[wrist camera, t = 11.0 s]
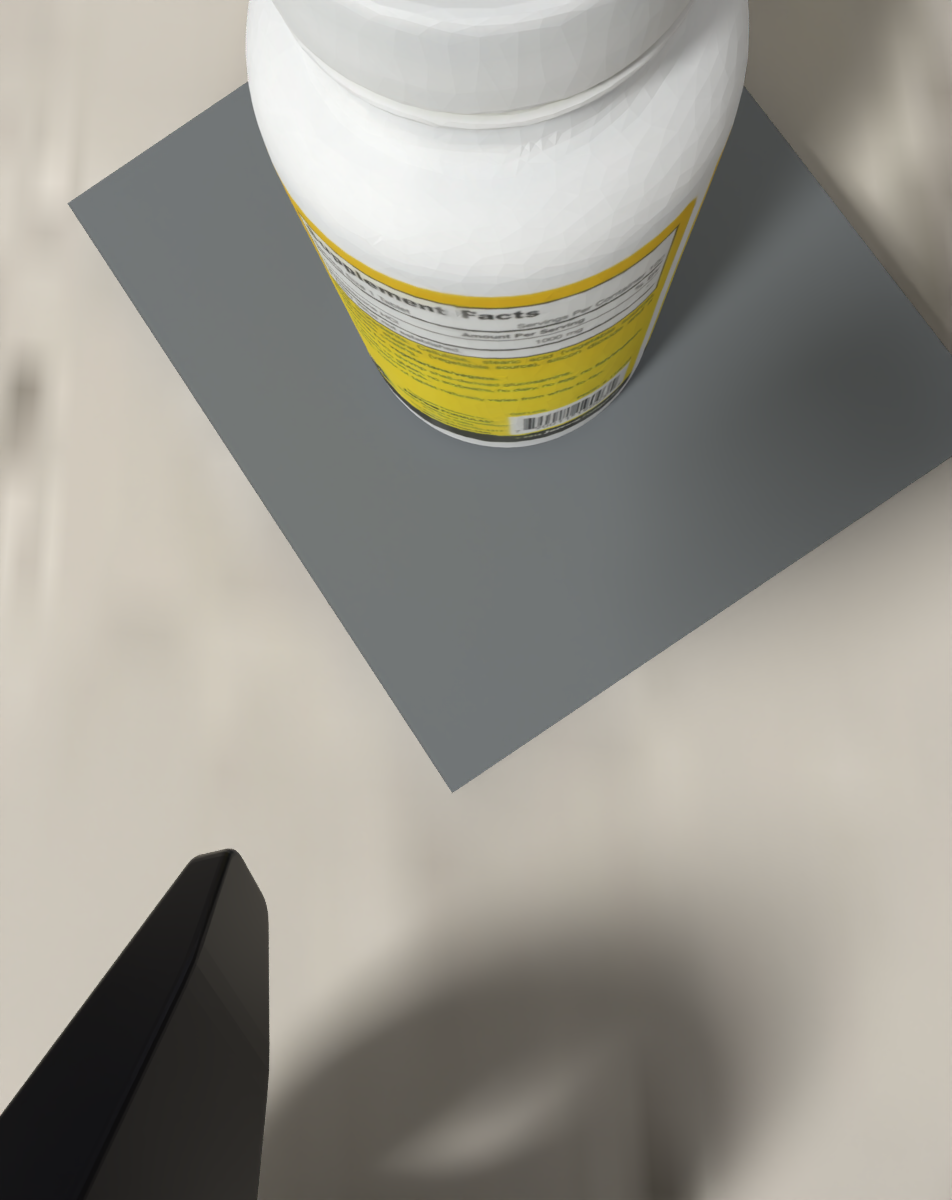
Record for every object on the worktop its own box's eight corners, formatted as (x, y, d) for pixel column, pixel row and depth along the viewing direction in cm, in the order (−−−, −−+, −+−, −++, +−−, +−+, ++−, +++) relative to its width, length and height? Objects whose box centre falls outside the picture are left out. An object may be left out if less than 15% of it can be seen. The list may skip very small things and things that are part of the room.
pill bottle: (458, 136, 18) (360, -683, 7) (700, 265, 18) (1002, -404, 7) (314, 369, 18) (-17, -104, 7) (555, 508, 17) (619, 237, 6)
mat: (975, 435, 18) (1002, 421, 17) (455, 785, 18) (452, 792, 17) (569, -97, 19) (571, -138, 18) (91, 226, 19) (67, 203, 18)
